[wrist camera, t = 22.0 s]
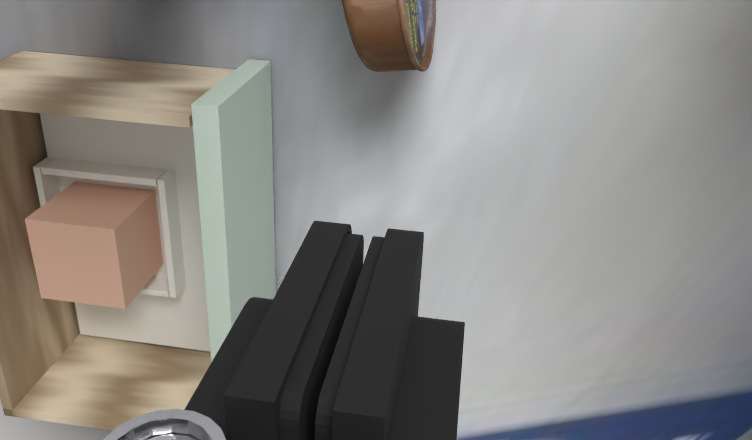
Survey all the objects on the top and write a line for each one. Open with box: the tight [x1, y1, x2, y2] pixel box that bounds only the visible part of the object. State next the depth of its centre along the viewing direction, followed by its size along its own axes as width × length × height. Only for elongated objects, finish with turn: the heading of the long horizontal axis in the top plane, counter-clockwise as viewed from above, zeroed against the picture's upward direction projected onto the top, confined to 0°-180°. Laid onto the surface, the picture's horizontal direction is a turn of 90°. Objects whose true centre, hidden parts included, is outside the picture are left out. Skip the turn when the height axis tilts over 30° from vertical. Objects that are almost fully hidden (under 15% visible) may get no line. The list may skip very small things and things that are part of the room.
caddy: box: [0, 51, 235, 431], centre depth 39 cm, size 13×20×8 cm, turn 177°
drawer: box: [33, 59, 276, 362], centre depth 38 cm, size 13×21×8 cm, turn 177°
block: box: [25, 181, 163, 309], centre depth 39 cm, size 5×5×5 cm
